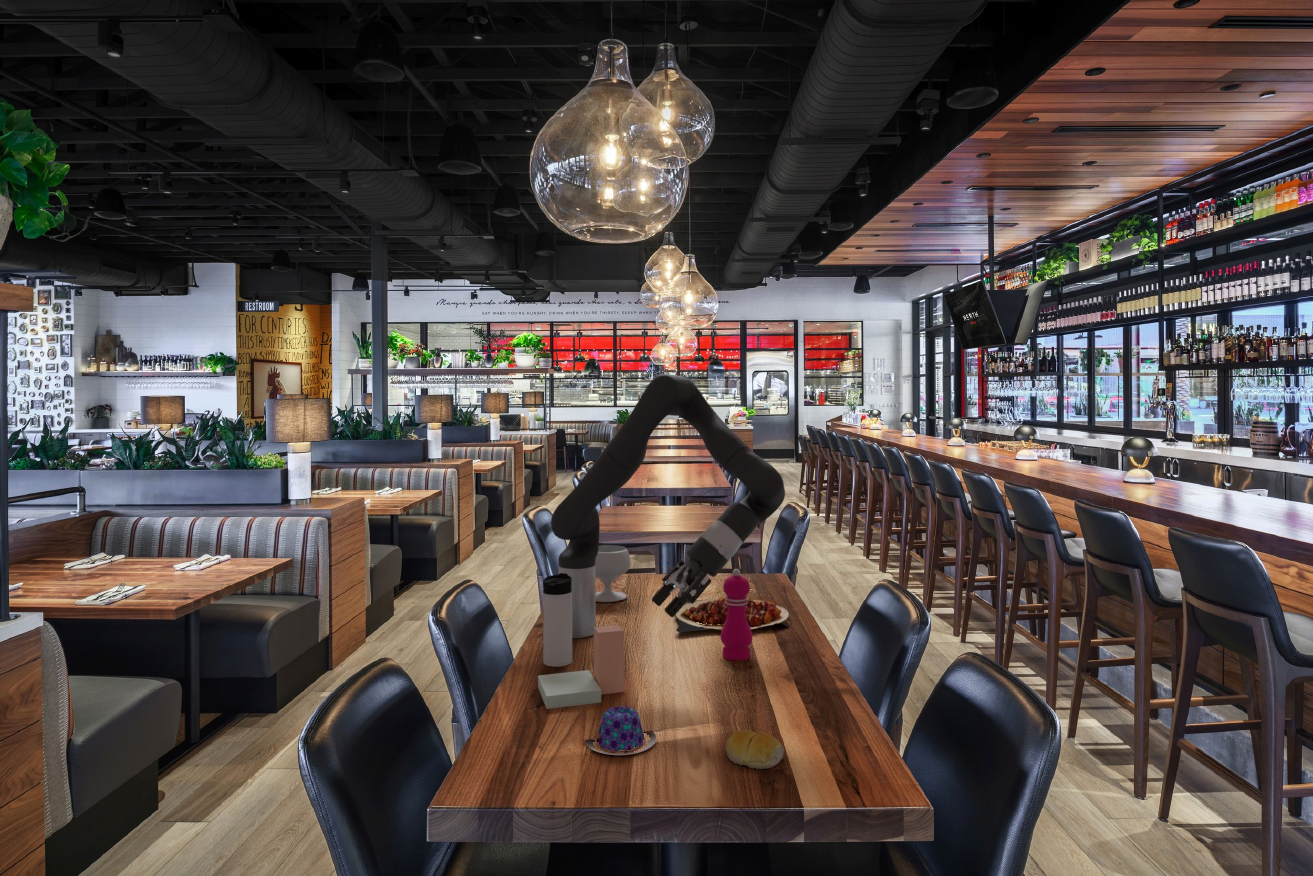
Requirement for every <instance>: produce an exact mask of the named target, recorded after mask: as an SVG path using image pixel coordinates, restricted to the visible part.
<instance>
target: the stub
mask: <svg viewBox="0 0 1313 876" xmlns="http://www.w3.org/2000/svg"><path fill="white" fill-rule="evenodd" d="M624 631H625V630H624V628H622V627H621V626H620V624H614V625H611V624H610V625H603V626H602V625H601V626H596V627H594V635H593V677H594V679H595V681H596V682H597V684H598V686H599V687H600V689H601V696H603V695H610V694H611V695H612V694H617V693H619V694H620V693H624V692H625V638H624V637H625V635H624V634H625V632H624Z"/></svg>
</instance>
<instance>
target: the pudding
mask: <svg viewBox="0 0 1313 876" xmlns="http://www.w3.org/2000/svg"><path fill="white" fill-rule="evenodd" d="M642 727H643V726H642V722H641V720H640V715H639V713H638V711H637V710H636V709H634V708H632V707H629V706H621V705H619V706H616V707H610V708H608V709H606V710H605V711H604V712H603V714H602V716H601V721H600V725H599V729H598V735H599V737H597V740H596V743H598V742H599V743H598V744H597V746H598V745H599V746H600V747H602V748H607V749H608V750H611V751H615V753H618V752H617V751H619V750H625V751H627V750H631V749H633V748H634V747H638V746H639V747H640V746H642V745H644V741H643V740H644V734H643V733H647V735H649V737H650V739H651V740H649V741H648V742H649V743H648V745H647V746H646V748H644V749H643V750H641V751H637V752H634V753H627V754H614V753H608V752H609V751H608V750H607V749H606V750H607V751H608V752H603V751H599V750H597V749H596V748H594V745H593V742H595V740H593V739H594V738H591V739H588V738H587V739H584V743H585V744H586V746H587V747H588V748H589V749H590V750H592V751H595V752H597V753H601V754H604V755H611V756H612V755H613V756H627V755H634V754H639V753H642V752H645V751H646V750H649V749H650V748H651V747H653V746H654V744H655V743H656V742H657V736H656V733H655V732H654V731H653V730H648V731H644V730H643V728H642ZM599 746H598V747H599ZM602 748H601V749H602ZM640 748H641V747H640Z"/></svg>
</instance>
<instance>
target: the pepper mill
mask: <svg viewBox="0 0 1313 876" xmlns="http://www.w3.org/2000/svg"><path fill="white" fill-rule="evenodd" d="M722 588H723V592H724V594H726V596H725V597H724V598H725V599H726V604H727V605H728V615H727V619H726V621H725V624H724V625H722V628H721V630H720V631H721V632H720V641H721V643H722V645H724V646H723V647H722V657H723V658H724V659H726V660H729V661H736V662H737V661H745V660H748V659H750V658H751V648H750V647H749V646H750V645H751V644H752V642H753V631H752V629H750V628H751V627H750V626H749V624H748V622H747V619H746V615H745V607H746V604H747V603H748V602H747V599H749V598H748V596H747V595H748V594H749V593H750V589H751V586H750V582H749V581H748V579H747V578H746V577H744V576H742V575H741V571H740V569H738V568H734V569H733V570H732V575H730V576H728V577H727V578H725V580H724V582H723V587H722Z"/></svg>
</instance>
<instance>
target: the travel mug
mask: <svg viewBox="0 0 1313 876" xmlns="http://www.w3.org/2000/svg"><path fill="white" fill-rule="evenodd" d="M571 587H572V578H571V577H570V576H568V574H566V573H560V574H559V573H558V574H553V575H548V576H546V577H544V579H543V580H542V628H543V629H542V638H543V639H542V643H543V646H542V649H543V650H542V651H543V654H542V656H543V657H542V659H543V665H545V666H549V667H564V666H565V667H566V666H569V665H570V664H572V662H573V638H572V588H571Z"/></svg>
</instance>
